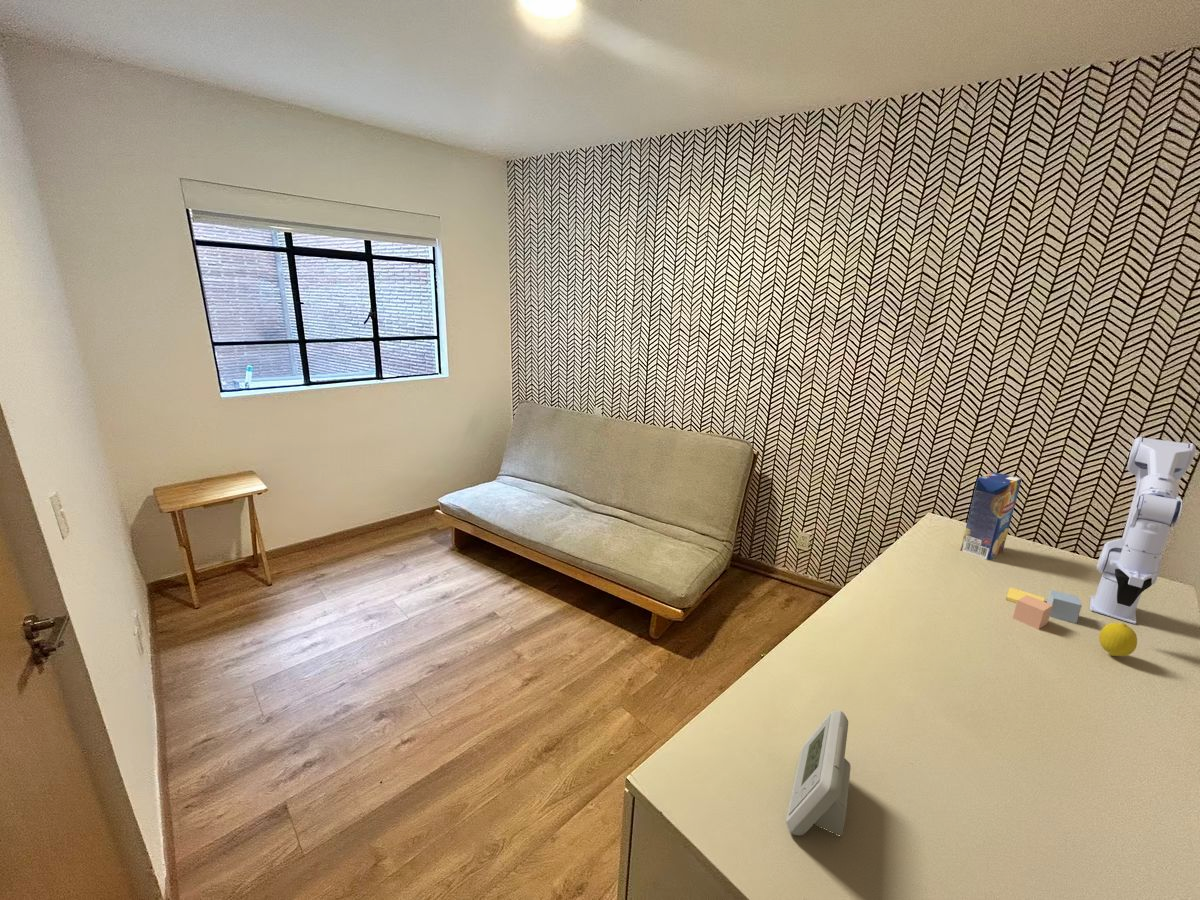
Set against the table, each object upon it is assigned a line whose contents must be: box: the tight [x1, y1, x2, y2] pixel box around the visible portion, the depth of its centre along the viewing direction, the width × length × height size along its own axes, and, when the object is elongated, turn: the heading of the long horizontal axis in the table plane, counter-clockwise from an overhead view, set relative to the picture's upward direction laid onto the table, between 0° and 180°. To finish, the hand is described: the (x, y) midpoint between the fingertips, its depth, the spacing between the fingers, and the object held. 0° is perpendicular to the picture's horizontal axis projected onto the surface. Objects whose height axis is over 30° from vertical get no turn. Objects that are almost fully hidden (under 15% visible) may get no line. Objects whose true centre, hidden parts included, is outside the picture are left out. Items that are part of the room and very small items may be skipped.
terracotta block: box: [1012, 595, 1053, 630], centre depth 118 cm, size 5×5×5 cm
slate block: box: [1046, 589, 1083, 624], centre depth 121 cm, size 5×5×5 cm
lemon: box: [1098, 622, 1138, 657], centre depth 106 cm, size 6×6×8 cm
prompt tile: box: [1005, 586, 1045, 604], centre depth 127 cm, size 7×7×1 cm
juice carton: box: [960, 471, 1023, 561], centre depth 152 cm, size 12×8×24 cm, turn 125°
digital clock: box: [785, 709, 852, 837], centre depth 71 cm, size 16×9×11 cm, turn 138°
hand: (1123, 603), depth 111 cm, fingers closed
